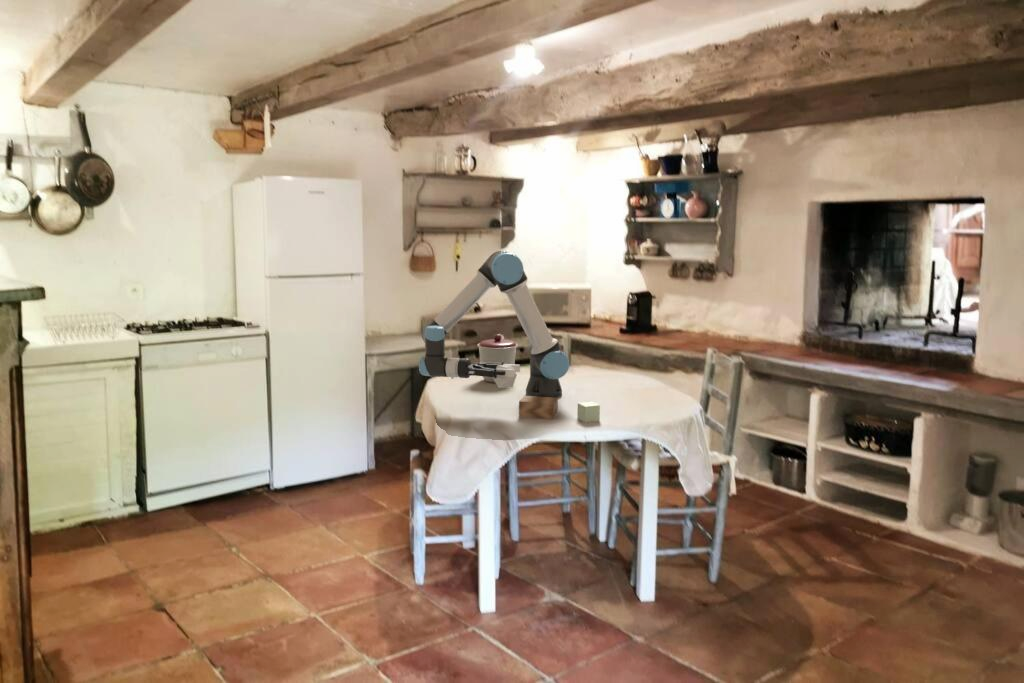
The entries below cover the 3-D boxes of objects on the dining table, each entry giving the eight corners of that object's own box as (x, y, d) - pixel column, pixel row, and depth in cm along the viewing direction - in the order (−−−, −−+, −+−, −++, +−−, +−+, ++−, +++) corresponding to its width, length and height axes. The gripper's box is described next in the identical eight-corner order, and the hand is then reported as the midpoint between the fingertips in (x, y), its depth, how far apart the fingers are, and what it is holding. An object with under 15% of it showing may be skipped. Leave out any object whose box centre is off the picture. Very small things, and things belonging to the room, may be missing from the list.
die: (515, 385, 305) (500, 363, 306) (525, 378, 298) (510, 356, 299) (499, 396, 301) (484, 374, 302) (508, 389, 293) (493, 366, 294)
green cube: (591, 417, 298) (591, 401, 297) (599, 421, 292) (599, 405, 291) (577, 418, 295) (577, 402, 294) (585, 422, 290) (585, 406, 289)
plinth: (519, 416, 297) (519, 401, 296) (524, 410, 306) (524, 395, 305) (553, 419, 294) (553, 403, 293) (557, 413, 303) (557, 397, 301)
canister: (514, 385, 347) (514, 338, 344) (473, 384, 350) (473, 337, 346) (520, 376, 365) (520, 331, 361) (481, 375, 368) (481, 330, 364)
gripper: (467, 371, 315) (523, 374, 309) (451, 383, 295) (510, 386, 289) (467, 353, 313) (523, 355, 308) (450, 363, 293) (510, 366, 288)
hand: (517, 370), depth 299 cm, fingers closed on die, 8 cm apart
